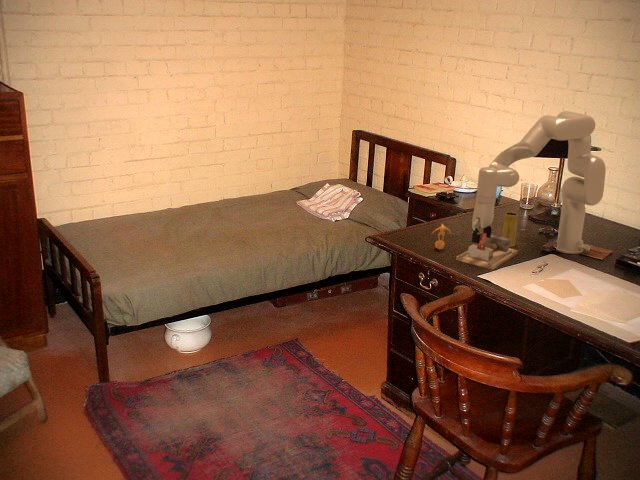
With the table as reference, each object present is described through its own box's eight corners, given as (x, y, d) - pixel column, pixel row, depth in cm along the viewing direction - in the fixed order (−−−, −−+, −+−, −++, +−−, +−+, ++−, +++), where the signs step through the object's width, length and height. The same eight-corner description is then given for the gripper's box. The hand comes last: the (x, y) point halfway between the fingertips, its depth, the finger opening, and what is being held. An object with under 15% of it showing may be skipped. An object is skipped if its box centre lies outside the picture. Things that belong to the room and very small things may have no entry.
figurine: (447, 247, 283) (450, 221, 279) (451, 252, 277) (453, 225, 273) (428, 247, 283) (430, 221, 279) (431, 252, 277) (433, 225, 273)
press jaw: (492, 258, 266) (495, 234, 263) (488, 261, 263) (490, 236, 260) (472, 253, 271) (474, 229, 268) (467, 255, 268) (470, 231, 265)
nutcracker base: (517, 253, 277) (519, 239, 275) (492, 269, 259) (494, 254, 257) (482, 245, 287) (484, 231, 284) (456, 260, 269) (457, 245, 267)
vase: (515, 247, 284) (519, 216, 279) (501, 246, 285) (504, 215, 281) (514, 243, 290) (518, 212, 285) (500, 241, 291) (503, 211, 286)
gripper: (486, 193, 268) (482, 232, 273) (466, 201, 255) (462, 242, 261) (504, 196, 263) (499, 236, 269) (484, 205, 250) (479, 247, 256)
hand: (481, 239), depth 265 cm, fingers open, 9 cm apart
